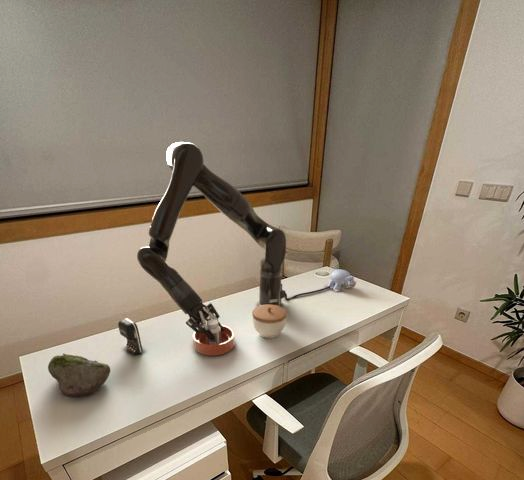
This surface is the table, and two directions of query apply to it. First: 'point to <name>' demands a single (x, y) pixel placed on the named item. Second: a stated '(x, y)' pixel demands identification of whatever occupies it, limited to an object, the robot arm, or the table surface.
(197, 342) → the terracotta bowl
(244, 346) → the table surface
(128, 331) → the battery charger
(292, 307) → the table surface
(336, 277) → the hippopotamus toy
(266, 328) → the lidded bowl
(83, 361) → the stone
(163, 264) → the robot arm
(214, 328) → the pill bottle
